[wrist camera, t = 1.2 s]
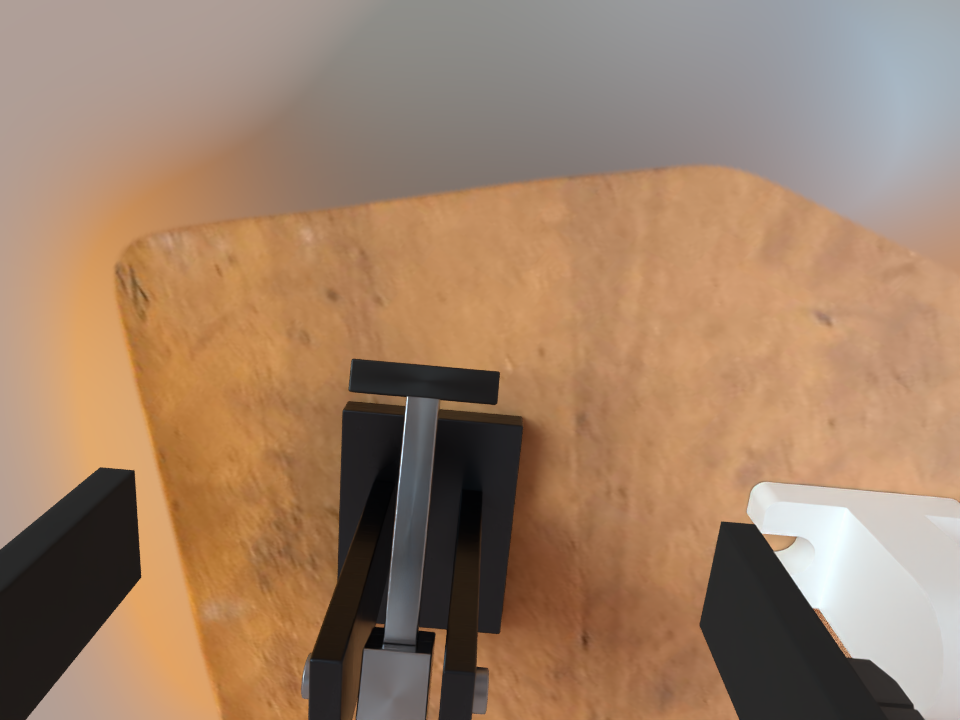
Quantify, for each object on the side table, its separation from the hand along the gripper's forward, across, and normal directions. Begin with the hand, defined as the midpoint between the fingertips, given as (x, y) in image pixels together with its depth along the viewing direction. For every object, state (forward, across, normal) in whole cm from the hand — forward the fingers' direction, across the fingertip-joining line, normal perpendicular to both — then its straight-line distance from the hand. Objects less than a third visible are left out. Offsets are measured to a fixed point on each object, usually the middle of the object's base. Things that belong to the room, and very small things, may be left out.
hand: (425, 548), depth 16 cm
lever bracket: (+16, -1, -8) cm, 18 cm away
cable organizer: (+16, +19, -8) cm, 26 cm away
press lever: (+8, -1, -5) cm, 9 cm away
